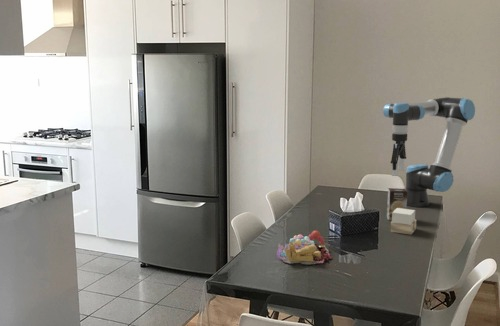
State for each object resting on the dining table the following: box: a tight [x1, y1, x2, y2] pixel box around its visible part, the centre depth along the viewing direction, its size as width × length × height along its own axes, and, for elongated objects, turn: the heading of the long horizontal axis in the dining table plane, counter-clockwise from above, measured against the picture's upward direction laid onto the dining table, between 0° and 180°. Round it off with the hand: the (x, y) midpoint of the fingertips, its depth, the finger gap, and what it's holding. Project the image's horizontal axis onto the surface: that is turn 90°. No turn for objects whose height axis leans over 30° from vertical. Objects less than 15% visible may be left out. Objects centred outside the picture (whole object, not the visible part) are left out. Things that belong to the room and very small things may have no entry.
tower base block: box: [390, 219, 417, 236], centre depth 262 cm, size 10×10×5 cm
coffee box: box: [386, 187, 408, 221], centre depth 279 cm, size 9×6×16 cm
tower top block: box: [391, 208, 416, 225], centre depth 261 cm, size 9×9×5 cm
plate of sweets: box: [276, 230, 332, 265], centre depth 230 cm, size 25×24×9 cm
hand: (397, 173), depth 276 cm, fingers open, 13 cm apart
